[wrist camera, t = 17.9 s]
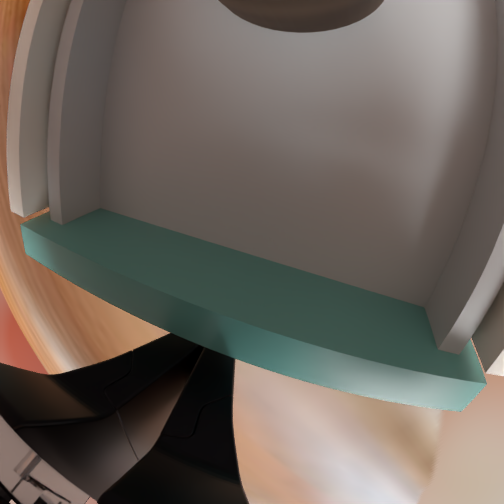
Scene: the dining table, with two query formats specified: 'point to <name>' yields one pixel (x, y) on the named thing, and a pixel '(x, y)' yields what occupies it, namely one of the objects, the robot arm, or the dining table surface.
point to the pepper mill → (302, 13)
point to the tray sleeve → (36, 137)
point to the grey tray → (287, 186)
